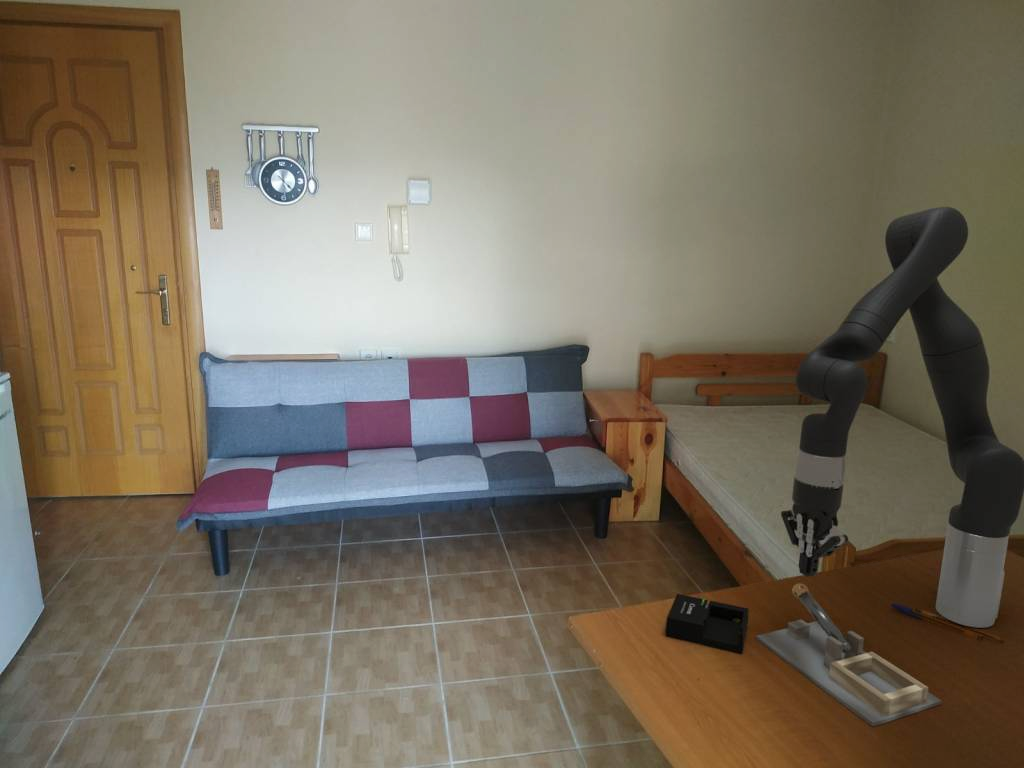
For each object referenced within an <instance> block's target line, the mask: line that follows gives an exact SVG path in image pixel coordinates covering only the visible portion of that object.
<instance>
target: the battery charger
mask: <svg viewBox="0 0 1024 768" xmlns="http://www.w3.org/2000/svg"><path fill="white" fill-rule="evenodd" d="M749 610H750V609H749V608H748V607H743V606H737V605H733V604H730V603H729V604H728V603H724V602H720V601H714V600H710V599H705V598H700V597H695V596H690V595H686V594H681V593H677V594H676V595H675V598H674V600H673V602H672V605H671V607H670V609H669V612H668V614H667V617H666V623H665V630H664V631H665V637H666V638H672V639H676V640H680V641H682V642H683V641H684V642H688V643H692V644H696V645H697V644H698V645H701V646H704V647H705V646H706V647H708V648H714V649H719V650H721V651H726V652H730V653H734V654H735V653H736V654H738V655H742V654H743V650H744V646H745V645H744V644H745V639H746V634H747V629H748V623H749Z"/></svg>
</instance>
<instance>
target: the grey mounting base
mask: <svg viewBox="0 0 1024 768" xmlns="http://www.w3.org/2000/svg"><path fill="white" fill-rule="evenodd" d="M845 638H846V639H847V640H848V642H849V643H850V644H851V650H850V651H849V652H848V653H843V643H841V642H840V641H838V640H837V639H835V638H834V637H832V636H830V637H829V636H828V635H827V634H826V633H825V631H824V630H823V629H822V627H821V626H820V625H819V624H818V622H817V621H816V620H815V621H811V622H806V621H805V620H803V619H798V620H794V621H788V623H787V628H783V629H778V630H774V631H770V632H766V633H762V634H759V635H756V636H755V640H757V641H758V643H760V644H762V645H763V646H765V647H766V648H767V649H769V650H770V651H771V652H772V653H774V654H775V655H777V656H778V657H779V658H780V659H782V660H783V661H784V662H785V663H787V664H788V665H790V666H791V667H792V668H794V669H795V670H796V671H798V672H799V673H800V674H802V675H803V676H804V677H806V678H807V679H808V680H810V681H811V682H813V683H814V684H815V685H816V686H818V687H819V688H821V689H822V691H824V692H826V693H827V694H828V695H830V696H831V697H832V698H833V699H835V700H836V701H837V702H839V703H840V704H842V705H843V706H845V707H846V708H847V709H848V710H850V711H851V712H852V713H853V714H855V715H856V716H858V717H859V718H860V719H861V720H863V721H864V722H866V723H867V724H868V725H869V726H871V727H872V728H873V727H876V726H880V725H883V724H885V723H889V722H891V721H894V720H898V719H901V718H903V717H906V716H910V715H912V714H916V713H919V712H922V711H925V710H928V709H930V708H934V707H937V706H939V705H942V700H941V699H939V698H938V697H936V696H935V695H933V694H932V693H930V692H929V686H927V685H926V684H924V683H922V682H921V681H919V680H918V679H916V678H914V677H912V675H910V674H908V673H907V672H905V671H903V670H902V669H900V668H898V667H897V666H895V664H892V663H891V662H890V661H888V660H886V659H884V658H883V657H881V656H880V655H878V654H877V653H875V652H873V651H869V652H868V651H867V652H866V651H865V650H864V649H863V648H864V642H865V638H864V637H862V636H861V635H859V634H858V633H857V632H855V631H853V630H850V631H847V632H846V637H845Z"/></svg>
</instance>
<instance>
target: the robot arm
mask: <svg viewBox="0 0 1024 768" xmlns="http://www.w3.org/2000/svg"><path fill="white" fill-rule="evenodd" d="M885 231H886V232H885V237H884V239H885V240H884V242H885V249H886V254H887V257H888V260H889V262H890V264H891V265H890V266H891V267H892V269H893V271H892V272H891V273H890V274H889V275H887V276H886V277H885V278H884V279H883V280H882V281H880V282H879V283H878V284H876V285H875V286H874V287H873V288H871V289H869V290H868V292H866V293H865V294H864V295H863V296H862V297H861V298H860V299H858V301H857V302H856V303H855V304H854V306H853V307H852V308H851V309H850V311H849V313H848V314H846V317H845V318H844V320H843V321H842V323H841V324H840V325H839V326H838V328H837V329H836V331H835V332H834V333H833V334H831V335H830V336H828V337H827V338H826V339H824V341H823V342H821V343H820V344H819V345H818V346H816V347H815V348H814V349H813V350H812V351H810V352H809V353H808V354H807V355H806V356H805V357H804V358H803V360H802V361H801V363H800V364H799V366H798V368H797V371H796V374H795V384H796V389H797V390H798V391H799V392H800V394H802V395H803V396H804V397H807V398H811V399H814V400H818V401H819V400H820V401H823V402H828V403H829V407H828V409H827V410H826V412H825V413H822V412H821V413H810V414H808V415H806V416H804V419H803V421H802V424H801V432H800V439H799V448H798V453H797V457H796V460H795V469H794V477H793V485H792V486H793V487H792V488H793V489H792V494H791V495H792V496H791V499H792V502H793V503H792V506H791V507H792V508H791V509H789V510H782V511H781V513H780V515H781V519H782V521H783V523H784V527H785V528H786V532H787V534H788V536H789V537H788V538H789V540H790V543H791V544H792V545H793V546H796V547H798V552H799V561H798V569H799V573H800V574H801V575H803V576H805V577H807V578H808V577H812V576H813V577H814V576H815V575H816V574H817V573H818V569H819V563H820V559H821V558H823V557H830V556H832V555H833V554H834V553H835V552H836V551H838V550H839V549H841V547H843V546H844V545H845V544H846V543H847V542H848V541H849V537H848V535H847V534H842V533H841V531H840V530H839V528H838V525H839V521H838V517H837V516H838V515H837V514H838V512H839V510H840V509H841V506H842V500H843V494H844V493H843V492H844V485H845V484H844V483H845V478H846V477H845V476H846V467H847V466H846V464H847V463H846V459H847V458H846V457H847V456H846V455H847V453H846V452H847V447H848V439H849V432H850V429H851V427H852V424H853V422H854V419H855V417H856V415H857V412H858V411H859V408H860V405H861V404H862V401H863V399H864V397H865V395H866V392H867V390H868V389H867V388H868V375H867V372H866V371H865V369H864V367H863V365H861V364H859V363H858V362H866V361H869V360H871V359H873V358H874V357H875V356H876V355H877V354H878V352H879V351H880V350H881V348H882V346H883V345H884V344H885V342H886V341H887V340H888V337H889V336H890V335H891V333H892V332H893V330H894V329H895V327H896V326H897V324H898V323H899V321H901V319H902V317H903V316H905V314H906V312H907V311H908V310H909V313H910V316H911V320H912V323H913V326H914V329H915V331H916V336H917V339H918V343H919V348H920V351H921V356H922V359H923V362H924V366H925V369H926V373H927V375H928V379H929V381H930V384H931V388H932V390H933V394H934V398H935V401H936V404H937V406H938V408H939V411H940V415H941V418H942V422H943V427H944V433H945V438H946V440H945V441H946V445H947V446H946V447H947V454H948V458H949V464H950V468H951V469H952V471H953V473H954V475H955V476H956V477H957V478H958V479H959V480H960V481H961V482H962V483H963V484H964V487H963V493H962V497H961V502H960V504H955V505H954V506H952V507H951V508H950V510H949V515H948V522H947V527H946V528H947V529H946V534H945V535H946V536H945V542H944V548H943V554H942V555H943V556H942V561H941V568H940V569H941V570H940V576H939V582H938V588H937V595H936V601H935V602H936V603H935V610H936V612H937V613H938V614H940V615H941V616H942V617H943V618H945V619H947V620H949V621H951V622H953V623H956V624H959V625H963V626H965V627H970V628H971V627H972V628H977V629H978V628H981V629H983V628H989V627H992V626H993V625H995V622H996V619H998V615H999V609H1000V603H1001V597H1002V591H1003V586H1004V585H1003V584H1004V581H1005V574H1006V572H1005V570H1004V568H1005V561H1006V556H1007V550H1008V544H1009V538H1010V532H1011V528H1012V526H1013V525H1014V523H1016V520H1017V519H1018V517H1019V514H1020V511H1021V505H1022V501H1023V496H1024V458H1023V457H1022V456H1021V455H1020V454H1019V453H1018V452H1017V451H1016V450H1013V449H1012V448H1010V447H1008V446H1006V445H1005V444H1003V443H1001V441H1000V440H999V439H998V436H997V434H996V432H995V429H994V427H993V424H992V421H991V418H990V416H989V410H988V406H987V400H988V399H987V396H988V389H989V382H990V364H989V359H988V355H987V351H986V347H985V344H984V340H983V337H982V334H981V331H980V329H979V328H978V326H977V324H976V323H975V322H974V321H973V320H972V319H971V318H970V316H969V315H968V314H967V313H966V312H965V311H964V310H963V309H962V308H961V307H960V306H959V305H958V304H957V303H955V301H953V299H951V297H950V296H949V295H947V293H946V292H945V290H944V289H943V287H942V285H941V284H940V281H939V279H938V277H939V276H941V274H942V273H943V272H944V271H945V270H946V269H947V268H948V267H949V266H950V265H951V264H952V263H953V262H954V261H955V260H956V259H957V258H958V257H959V255H960V254H961V253H962V251H963V250H964V248H965V246H966V244H967V242H968V237H969V227H968V223H967V221H966V218H965V216H964V214H962V213H961V211H960V210H958V209H956V208H954V207H951V206H941V207H940V206H938V207H933V208H929V209H926V210H922V211H917V212H914V213H909V214H905V215H903V216H899V217H897V218H895V219H893V220H892V221H891V222H890V223H889V225H888V226H887V228H886V230H885Z"/></svg>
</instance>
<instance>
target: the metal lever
mask: <svg viewBox="0 0 1024 768" xmlns="http://www.w3.org/2000/svg"><path fill="white" fill-rule="evenodd" d="M791 591H792V595H793V596H794V597H795V598H797V599H798V600H799V601H800V602H801V603H802V605H803V606H804V607H805V608H806V610H807V611H808V612H809V614H810V615H811V616H812V617H813V619H814V620H815V621H817V622H818V624H819V625H820V626H821V627H822V629H823V630H824V631H825V633H826V634H827V635H828V636H829V637H830V636H832V637H834V638H835V639H837V640H838V641H840V642H841V643H843V653H848V652H849V651H850V650H851V644H850V643H849V642H848V640H847V639H846V637H845V635H844V634H843V633H842V631H840V629H839V628H838V627H837V625H836V624H835V623H834V622H833V620H832V619H831V618H830V617H829V615H828V614H827V613H826V612H825V610H824V609H823V608H822V606H820V604H819V603H818V602H817V600H816V599H815V598H814V597H813V596H812V593H810V591H809V588H808V587H807V585H805V584H803V583H796V584H794V586H793V587H792V590H791Z"/></svg>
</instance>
